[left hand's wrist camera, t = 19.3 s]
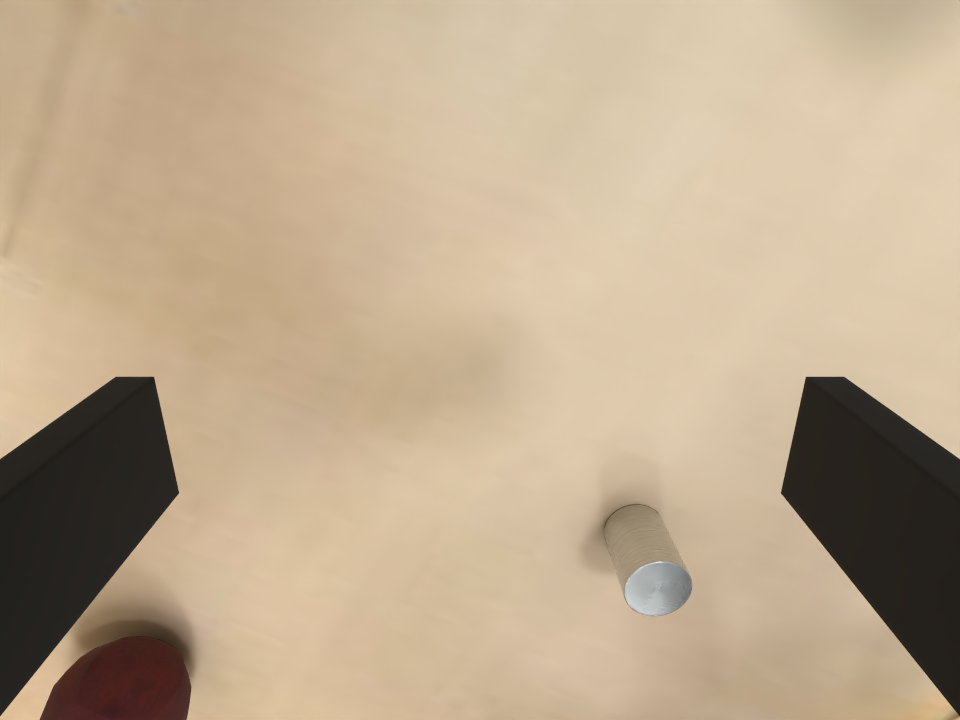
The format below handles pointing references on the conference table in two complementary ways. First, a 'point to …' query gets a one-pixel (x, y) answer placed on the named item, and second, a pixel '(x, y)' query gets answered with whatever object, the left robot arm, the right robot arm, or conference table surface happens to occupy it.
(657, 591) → the can
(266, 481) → the conference table surface
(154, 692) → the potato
